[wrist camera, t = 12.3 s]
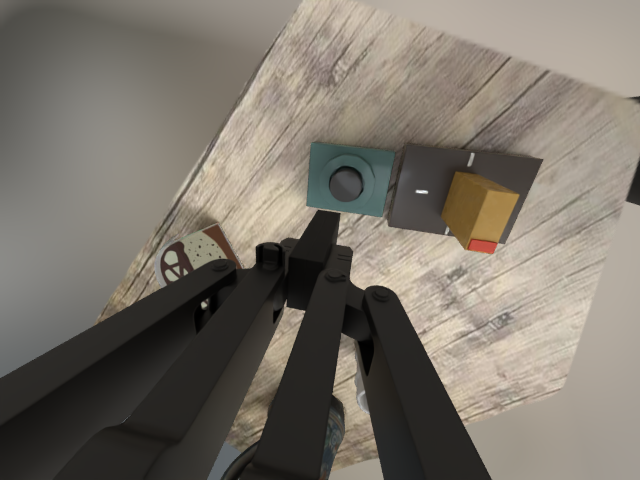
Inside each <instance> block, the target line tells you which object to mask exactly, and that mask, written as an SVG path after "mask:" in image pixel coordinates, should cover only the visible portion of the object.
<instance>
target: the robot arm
mask: <svg viewBox="0 0 640 480" xmlns="http://www.w3.org/2000/svg"><path fill="white" fill-rule="evenodd" d="M340 214H341V213H337V212H330V211H323V210H318V211H317V212H316V214H315V215H314V217H313V219H312V220H311V222H310V223H309V225H308V227H307V228H306V230H305V231H304V233H303V235H302V236H301V238H300V239H294V238H286V239H284V240H282V241H281V242H280V244H279V243H274V242H267V243H262V244H259V245H257V246H256V264H255V265H254V266H253V267H252V268H249V269H237V266H236V263H235V262H234V261H232V260H230V259H224V258H223V259H222V258H220V259H215V260H212V261H210V262H208V263H206V264H204V265H202V266H200V267H199V268H197V269H195V270H193V271H191V272H190V273H188V274H186V275H184V276H182V277H181V278H179V279H177V280H175V281H173V282H172V283H170V284H168V285H166V286H165V287H163V288H161V289H159V290H157V291H156V292H154V293H152V294H150V295H148V296H147V297H145V298H143V299H141V300H139V301H138V302H136V303H134V304H132V305H131V306H129V307H127V308H125V309H123V310H122V311H120V312H118V313H116V314H114V315H113V316H111V317H109V318H107V319H105V320H104V321H102V322H100V323H98V324H97V325H95V326H93V327H91V328H89V329H88V330H86V331H84V332H82V333H80V334H79V335H77V336H75V337H73V338H71V339H70V340H68V341H66V342H64V343H63V344H61V345H59V346H57V347H55V348H54V349H52V350H50V351H48V352H47V353H45V354H43V355H41V356H39V357H37V358H36V359H34V360H32V361H30V362H29V363H27V364H25V365H23V366H21V367H20V368H18V369H16V370H14V371H12V372H11V373H9V374H7V375H5V376H4V377H2V378H0V480H207V478H208V476H209V474H210V471H211V469H212V467H213V465H214V463H215V461H216V459H217V456H218V454H219V452H220V450H221V448H222V446H223V443H224V441H225V439H226V437H227V435H228V433H229V430H230V428H231V426H232V424H233V422H234V420H235V417H236V415H237V413H238V411H239V409H240V407H241V404H242V402H243V400H244V398H245V396H246V393H247V391H248V389H249V387H250V385H251V383H252V380H253V378H254V376H255V374H256V372H257V370H258V367H259V365H260V363H261V361H262V359H263V357H264V354H265V352H266V350H267V348H268V346H269V344H270V341H271V339H272V337H273V335H274V333H275V331H276V328H277V326H278V324H279V322H280V320H281V318H282V315H283V311H284V303H285V301H286V299H287V307H289V308H294V309H299V310H304V311H306V312H305V314H304V317H303V320H302V323H301V326H300V328H299V331H298V334H297V337H296V340H295V342H294V345H293V348H292V351H291V354H290V356H289V359H288V362H287V365H286V368H285V370H284V373H283V376H282V379H281V382H280V384H279V387H278V390H277V393H276V396H275V398H274V401H273V404H272V407H271V410H270V412H269V415H268V418H267V421H266V424H265V426H264V429H263V432H262V435H261V438H260V440H259V443H258V446H257V449H256V452H255V454H254V457H253V459H252V461H251V462H250V463H249V464H248V465H247V466H246V467H245V469H244V471H243V472H242V474H241V476H240V478H239V480H320V473H321V466H322V460H323V453H324V446H325V440H326V433H327V426H328V419H329V413H330V406H331V399H332V393H333V386H334V379H335V372H336V366H337V359H338V352H339V346H340V339H341V333H343V334H345V335H347V336H349V337H351V338H353V339H355V341H354V344H355V348H356V353H357V358H358V362H359V367H360V371H361V376H362V381H363V385H364V390H365V394H366V399H367V404H368V408H369V413H370V417H371V422H372V427H373V431H374V436H375V441H376V445H377V450H378V454H379V459H380V464H381V468H382V473H383V477H384V480H492V479H491V477H490V475H489V473H488V472H487V469H486V468H485V465H484V464H483V462H482V460H481V458H480V456H479V454H478V452H477V450H476V448H475V446H474V444H473V442H472V440H471V438H470V436H469V434H468V432H467V431H466V429H465V427H464V425H463V423H462V421H461V419H460V417H459V415H458V413H457V411H456V409H455V407H454V405H453V403H452V401H451V399H450V397H449V395H448V394H447V392H446V390H445V388H444V386H443V384H442V382H441V380H440V378H439V376H438V374H437V372H436V370H435V368H434V366H433V364H432V362H431V360H430V359H429V357H428V355H427V353H426V351H425V349H424V347H423V345H422V343H421V341H420V339H419V337H418V335H417V333H416V331H415V329H414V327H413V326H412V324H411V322H410V320H409V318H408V316H407V314H406V312H405V310H404V308H403V306H402V304H401V302H400V300H399V298H398V296H397V295H396V294H395V293H394V292H393V291H392V290H390V289H389V288H386V287H383V286H378V285H375V286H370V287H367V288H366V289H365V290H362V289H360V288H358V287H356V286H355V285H354V284H353V283H352V282H351V281H350V270H351V263H352V256H353V251H352V249H351V248H350V247H347V246H341V245H336V243H337V236H338V229H339V221H340ZM205 300H208V305H207V306H206V307H204V308H202V306H201V303H203V302H204V301H205ZM128 416H129V417H128ZM127 417H128V418H127ZM126 418H127V419H126ZM125 419H126V420H125ZM124 420H125V422H123V421H124ZM122 422H123V423H122Z"/></svg>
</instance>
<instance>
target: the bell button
mask: <svg viewBox="0 0 640 480" xmlns="http://www.w3.org/2000/svg"><path fill="white" fill-rule="evenodd" d="M361 187H362V180H361V177H360V175H359V174H358V173H357V172H356V171H355V170H353V169H349V168H345V169H341V170H339V171H338V172H336V173H335V175H334V176H333V177H332V179H331V181H330V192H331V194H332V195H333V197H334V198H335V199H337V200H338V201H341V202H350V201H353V200H354V199H356V198H357V197H358V195H359V194H360V192H361Z"/></svg>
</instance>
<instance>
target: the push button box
mask: <svg viewBox="0 0 640 480" xmlns="http://www.w3.org/2000/svg"><path fill="white" fill-rule="evenodd" d="M394 158H395V151H394V150H385V149H376V148H368V147H359V146H350V145H341V144H332V143H324V142H312V143H311V149H310V163H309V177H308V191H307V205H306V206H309V207H316V208H322V209H329V210H336V211H343V212H350V213H356V214H363V215H370V216H377V217H382V215H383V210H384V205H385V200H386V196H387V191H388V186H389V181H390V177H391V172H392V167H393V162H394ZM345 168H349V169H353V170H355V171H356V172H357V173H358V174H359V175H360V177H361V180H362V187H361V192H360V194H359V195H358V197H357V198H356V199H354V200H353V201H350V202H341V201H338V200H337V199H335V198H334V197H333V195H332V194H331V192H330V181H331V179H332V177H333V176H334V175H335V173H336V172H338V171H339V170H341V169H345Z"/></svg>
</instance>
